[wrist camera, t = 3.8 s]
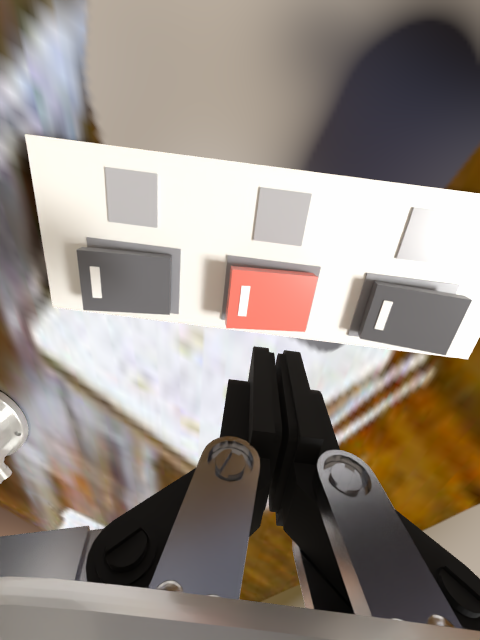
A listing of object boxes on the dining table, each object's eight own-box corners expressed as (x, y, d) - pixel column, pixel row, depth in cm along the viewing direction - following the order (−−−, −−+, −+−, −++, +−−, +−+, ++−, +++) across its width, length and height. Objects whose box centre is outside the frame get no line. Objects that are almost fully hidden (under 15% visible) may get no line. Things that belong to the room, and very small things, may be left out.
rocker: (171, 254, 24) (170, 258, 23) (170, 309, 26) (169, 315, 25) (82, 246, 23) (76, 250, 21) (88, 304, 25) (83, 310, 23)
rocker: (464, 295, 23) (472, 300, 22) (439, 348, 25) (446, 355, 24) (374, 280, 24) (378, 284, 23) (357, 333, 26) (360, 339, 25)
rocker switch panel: (644, 220, 25) (714, 224, 21) (555, 354, 31) (598, 376, 27) (58, 143, 25) (22, 133, 21) (76, 294, 30) (51, 308, 26)
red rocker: (312, 272, 24) (318, 277, 23) (300, 325, 26) (305, 332, 25) (230, 265, 23) (232, 270, 22) (224, 322, 25) (226, 328, 24)
